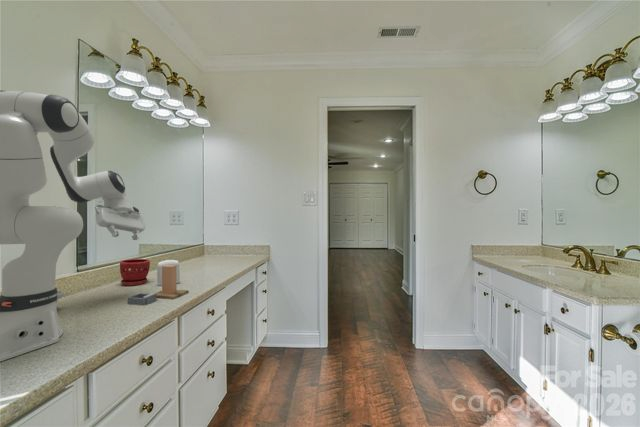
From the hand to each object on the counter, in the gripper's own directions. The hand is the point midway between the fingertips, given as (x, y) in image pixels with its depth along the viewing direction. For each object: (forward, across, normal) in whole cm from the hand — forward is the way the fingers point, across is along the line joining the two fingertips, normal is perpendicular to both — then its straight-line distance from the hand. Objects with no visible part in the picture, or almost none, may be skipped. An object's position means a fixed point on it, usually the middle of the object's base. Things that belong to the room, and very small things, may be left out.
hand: (126, 237), depth 122 cm
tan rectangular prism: (+24, +18, +3) cm, 30 cm away
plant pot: (+6, +31, +30) cm, 44 cm away
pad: (+25, +18, +4) cm, 31 cm away
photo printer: (+14, +34, +15) cm, 40 cm away
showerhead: (+16, -11, +31) cm, 37 cm away
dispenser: (+25, +7, +8) cm, 27 cm away
